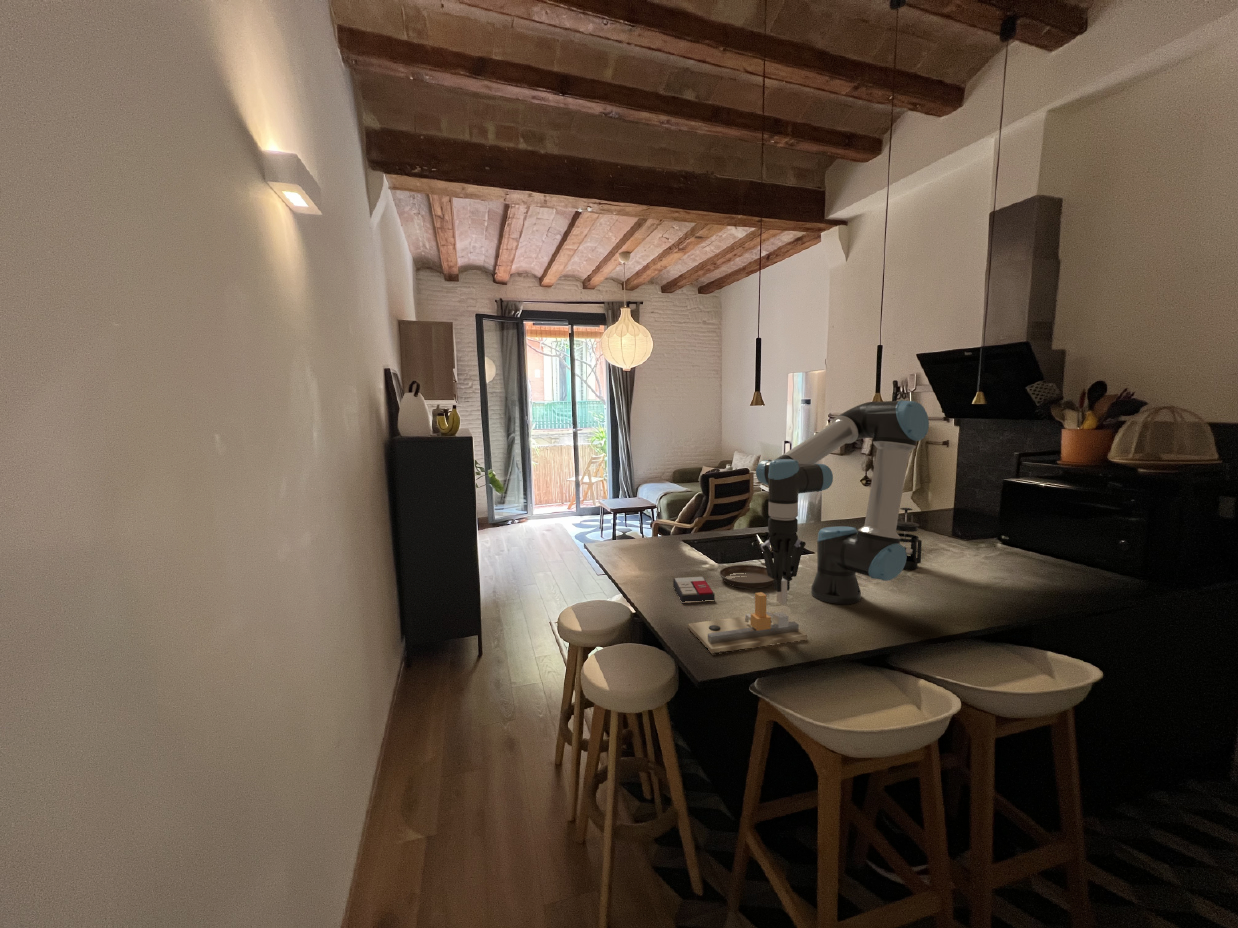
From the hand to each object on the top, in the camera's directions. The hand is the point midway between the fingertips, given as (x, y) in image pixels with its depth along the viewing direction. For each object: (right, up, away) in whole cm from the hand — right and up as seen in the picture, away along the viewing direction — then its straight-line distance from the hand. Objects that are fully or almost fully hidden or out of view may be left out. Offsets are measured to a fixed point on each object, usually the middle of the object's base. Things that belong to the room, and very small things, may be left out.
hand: (781, 602), depth 137 cm
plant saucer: (+3, -5, +46) cm, 47 cm away
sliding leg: (-7, -8, +2) cm, 10 cm away
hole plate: (-9, -10, +3) cm, 14 cm away
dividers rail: (-9, -8, +2) cm, 12 cm away
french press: (+67, -2, +58) cm, 89 cm away
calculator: (-19, -7, +35) cm, 40 cm away
